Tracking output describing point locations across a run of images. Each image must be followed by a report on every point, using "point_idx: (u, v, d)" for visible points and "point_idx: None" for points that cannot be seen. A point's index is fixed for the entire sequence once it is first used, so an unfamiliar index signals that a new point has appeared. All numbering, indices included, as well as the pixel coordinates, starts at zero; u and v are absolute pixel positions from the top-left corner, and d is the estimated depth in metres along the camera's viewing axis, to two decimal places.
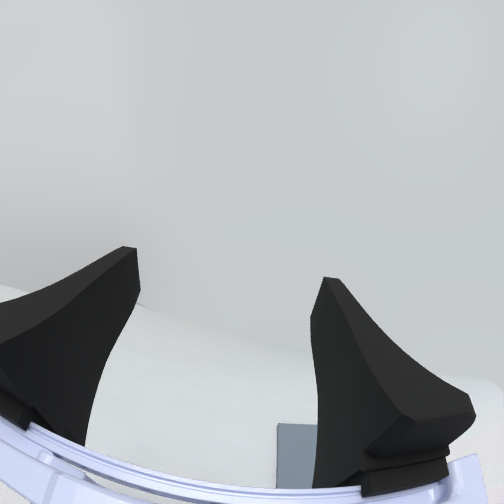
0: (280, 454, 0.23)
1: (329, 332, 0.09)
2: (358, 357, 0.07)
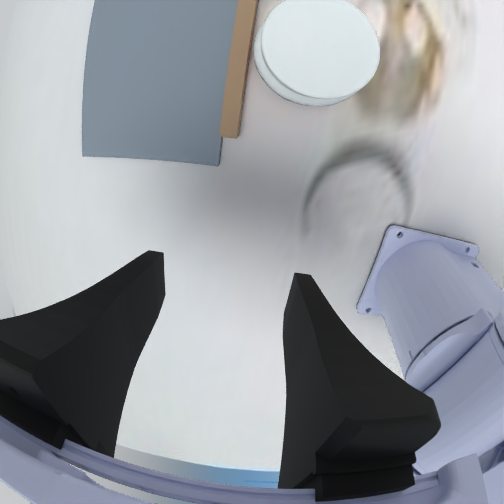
0: (128, 154, 0.18)
1: (296, 329, 0.09)
2: (316, 354, 0.07)
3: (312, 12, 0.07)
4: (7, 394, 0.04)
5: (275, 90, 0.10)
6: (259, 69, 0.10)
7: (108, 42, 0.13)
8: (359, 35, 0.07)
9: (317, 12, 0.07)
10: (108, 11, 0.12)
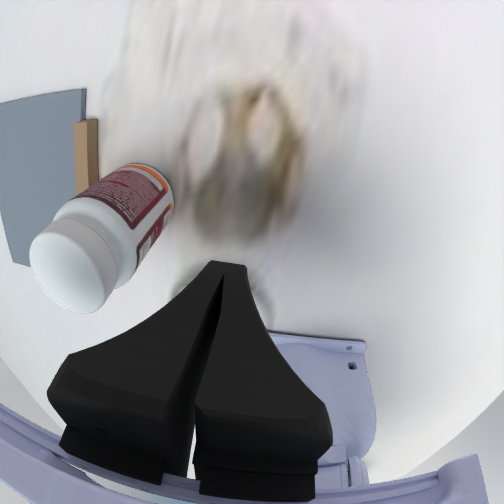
0: None
1: None
2: None
3: (49, 252, 0.09)
4: (84, 433, 0.04)
5: None
6: None
7: (6, 177, 0.16)
8: (82, 269, 0.10)
9: (51, 252, 0.09)
10: (0, 147, 0.15)
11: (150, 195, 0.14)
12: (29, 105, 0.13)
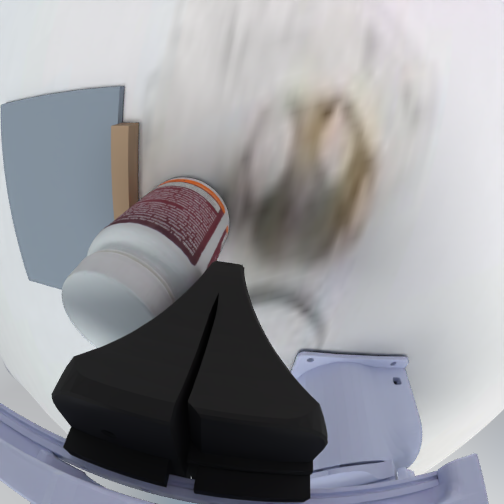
0: (61, 287, 0.19)
1: None
2: None
3: (89, 294, 0.08)
4: (89, 435, 0.04)
5: None
6: None
7: (21, 186, 0.15)
8: (136, 318, 0.08)
9: (93, 294, 0.08)
10: (13, 152, 0.14)
11: (209, 219, 0.12)
12: (50, 103, 0.12)
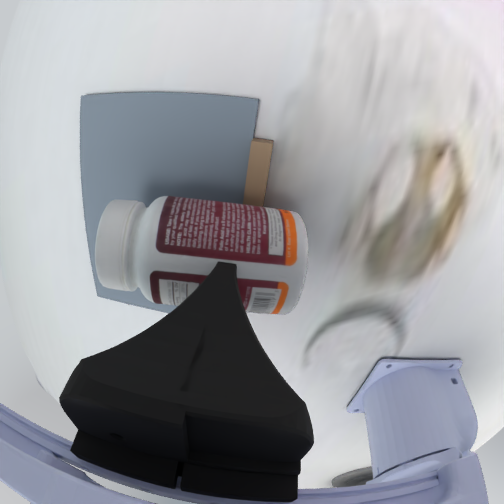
0: (142, 305, 0.19)
1: None
2: None
3: None
4: (97, 437, 0.04)
5: None
6: None
7: (104, 193, 0.16)
8: None
9: None
10: (97, 153, 0.14)
11: (239, 246, 0.11)
12: (161, 103, 0.13)
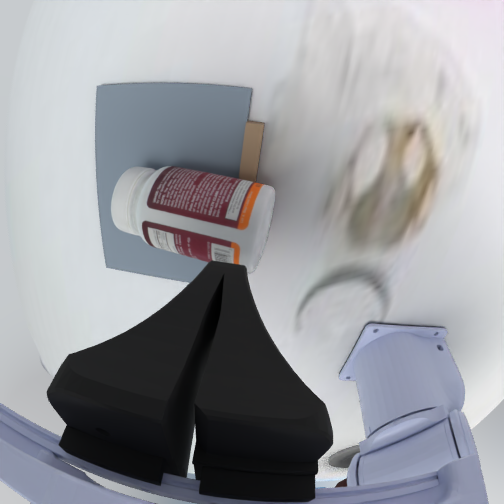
0: (148, 273, 0.22)
1: None
2: None
3: None
4: (84, 433, 0.04)
5: None
6: None
7: (117, 171, 0.18)
8: None
9: None
10: (111, 135, 0.16)
11: (204, 209, 0.14)
12: (169, 92, 0.15)
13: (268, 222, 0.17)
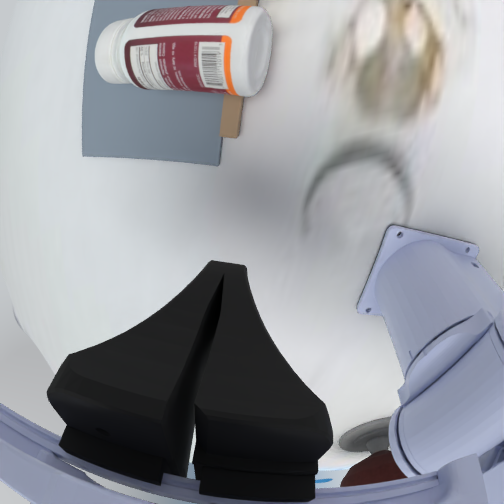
0: (128, 154, 0.18)
1: None
2: None
3: None
4: (84, 433, 0.04)
5: None
6: None
7: None
8: None
9: None
10: (108, 11, 0.12)
11: (194, 15, 0.09)
12: None
13: (265, 58, 0.12)
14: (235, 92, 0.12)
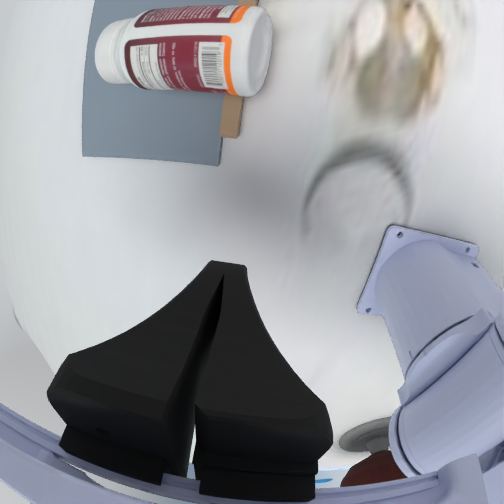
0: (128, 154, 0.18)
1: None
2: None
3: None
4: (84, 433, 0.04)
5: None
6: None
7: None
8: None
9: None
10: (108, 11, 0.12)
11: (194, 15, 0.09)
12: None
13: (265, 58, 0.12)
14: (235, 92, 0.12)
